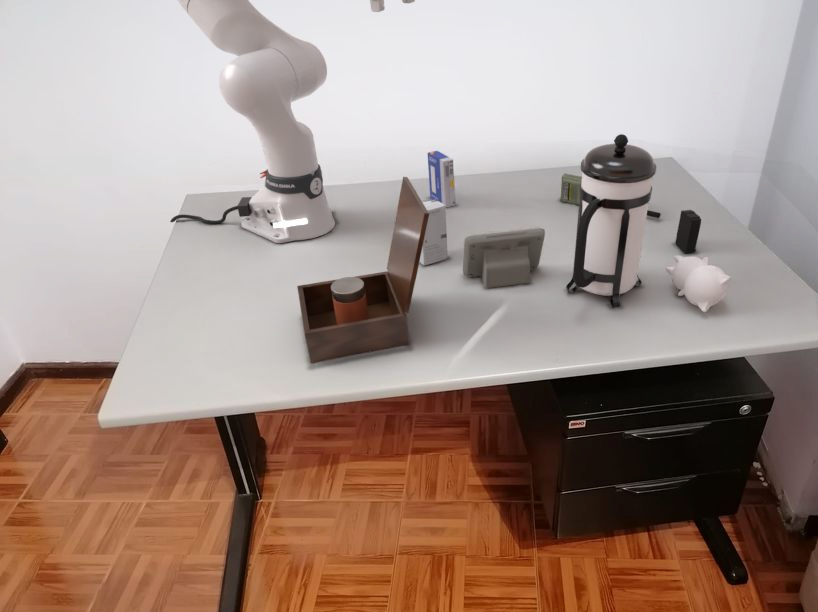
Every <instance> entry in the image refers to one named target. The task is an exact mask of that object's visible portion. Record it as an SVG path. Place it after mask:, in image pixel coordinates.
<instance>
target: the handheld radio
mask: <svg viewBox="0 0 818 612" xmlns="http://www.w3.org/2000/svg"><path fill="white" fill-rule="evenodd" d="M581 181H582V175H581V176H580V175H575V174H570V173H563V174H561V185H560V201H561V202H562V203H563V202H564V203H569V204H572V205H573V204H574V205H578V206H579V202H580V195H579V191H580V183H581ZM661 214H662V213H661V212H659V211H654V210H647V216H646V217H651V218H654V219H655V218H656V219H660V217H661V216H662V215H661Z"/></svg>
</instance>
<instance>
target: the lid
mask: <svg viewBox="0 0 818 612" xmlns="http://www.w3.org/2000/svg"><path fill="white" fill-rule="evenodd" d="M398 199H399V200H398V204H397V209H396V215H395V218H394V219H395V220H394V226H393V231H392V237H391V242H390V248H389V254H388V260H387V265H386V271H388V273H389V276H390V278H391V281H392V283H393V286H394V288H395V291H396V293H397V296H398V298H399V301H400V303H401V306H402V308H403V311H404V313H406V314H409V313H410V308H411V305H412V299H413V294H414V290H415V289H414V288H415V284H416V279H417V276H418V275H417V274H418V271H419V265H420V262H419V261H420V256H421V251H422V246H423V242H424V237H425V232H426V227H427V222H428V218H429V213H428V211H427V209H426V208H425V206H424V204H423V202H424V201H422V199H421V197H420V196H419V194H418V193H417V190H416V189H415V187H414V186H413V184H412V182H411V180H410V179H409V177H407V176H403V177H402V181H401V187H400V193H399V197H398Z"/></svg>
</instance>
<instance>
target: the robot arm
mask: <svg viewBox="0 0 818 612" xmlns="http://www.w3.org/2000/svg"><path fill="white" fill-rule="evenodd" d="M415 1H416V0H401V2H402V3H403V4H413V3H415ZM177 2H178V3H179V5H180V6H181V7H182V9H183V10H184V11H185V12H186V14H187V15H188V16H189V17H190V18H191V19H192V20H193V22H194V23H195V24H196V25H197V26H198V28H199V29H200V31H202V33H203V35H205V36H206V38H207V39H208V40H209V41H210V42H211V44H212V45H214V46H215V47H216V48H218V49H219V50H220V51H222V52H225V53H228V54H232V55H234V56H237V57H235V58H234V59H232V60H230V61H229V62H228V63H226V64H225V65H223V67H222V68H221V69H220V71H219V77H218V85H219V90H220V93H221V96H222V98H223V99H224V101H225V102H226V104H227V105H228V106H229V107H230V108H231V109H232V110H233V111H235V112H236V113H238V114H240V115H241V116H243V117H244V118H246V119H247V120H248V121H249V123H250V124H251V126H252V127H253V129H254V131H255V132H256V134H257V135H258V138H259V140H260V144H261V148H262V152H263V155H264V160H265V165H266V170H264V171H262V172H259V175H261V176H260V179H263V178H265V180H264V185H263V186H262V187H261V188H260V189H259V190H258V191H257V192H256V193H255V194H254V195H253V196H243V197H241V198H240V200H239V202H238V204H237V205H235V206H232V207H230V208H228V209H225V210H224V212H223V214H222V217H221V218H220V219H218V220H210V219H205V218H203V217H201V216H200V215H199V216H198V215H192V214H178V215H175V216H173V217H172V218H171V219H170V220H169V222H170V223H175V222H176V221H177V220H179V219H191V220H197V221H200V222H201V223H203V224H207V225H208V224H209V225H218V224H222V223H225V221H226V220H227V216H228V214H230V213H231V212H235V211H238V215H239V217H240V218H243V217H244V218H243V220H242V221H241V223H240V224H241V228H242V229H245V230H247V231H249V232H251V233H253V234H256V235H257V236H260V237H262V238H264V239H267V240H269V241H271V242H273V243H275V244H284V243H289V242H293V241H303V240H311V239H315V238H318V237H321V236H323V235H325V234H327V233H329V232H331V231H332V230H333V229H334V228H335V226H336V221H335V218H334V216H333V212H332V209H331V208H330V205H329V202H328V199H327V194H326V191H325V188H324V180H323V179H324V178H323V171H322V169H321V168H322V167H321V165H320V164H319V160H318V155H317V149H316V144H315V138H314V133H313V131H312V130H311V129H310V127H309V126H307V125H306V124H304V123H303V122H301V121H298V120H297V119H296V117H295V115H294V112H293V110H292V103H294V102H296V101H298V100H301V99H303V98H305V97H309V96H310V95H312V94H313V93H315V92H316V91H317V90H318V89H319V88H320V87H322V86H323V85H324V84H325V82H326V80H327V75H328V66H327V62H326V59H325V57H324V55H323V53H322V51H321V50H320V49H319V48H318V47H317V46H316V45H315V44H313V43H311V42H309V41H305V40H302V39H300V38H297V37H295V36H294V35H292V34H291V33H288V32H287V31H286V30H284V29H282V28H281V27H279V26H278V25H277V24H275V23H274V22H272V21H271V20H270V19H269V18H267V17H266V16H264V15H263V14H262V13H261V12H260V11H259V10H258V9H257V8H256V7H255V6H254V5H253V4H252V3H251V2H250V1H249V0H177ZM369 4H370V10H371V12H373V13H381V12H383V11H385V0H369Z"/></svg>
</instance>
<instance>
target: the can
mask: <svg viewBox="0 0 818 612" xmlns="http://www.w3.org/2000/svg"><path fill="white" fill-rule="evenodd" d="M335 280H336V281H335V282H333V283H332V285H331V291H332V298H333V304H334V310H335V316H336V321H337V325H340V324H345V323H351V322H356V321H362V320H368V319H369V315H368V307H367V300H366V293H365V288H364V282H363V281H362V280H361V279H359V278H356V277H355V276H345V277H341V278H338V280H337V279H335Z"/></svg>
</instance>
